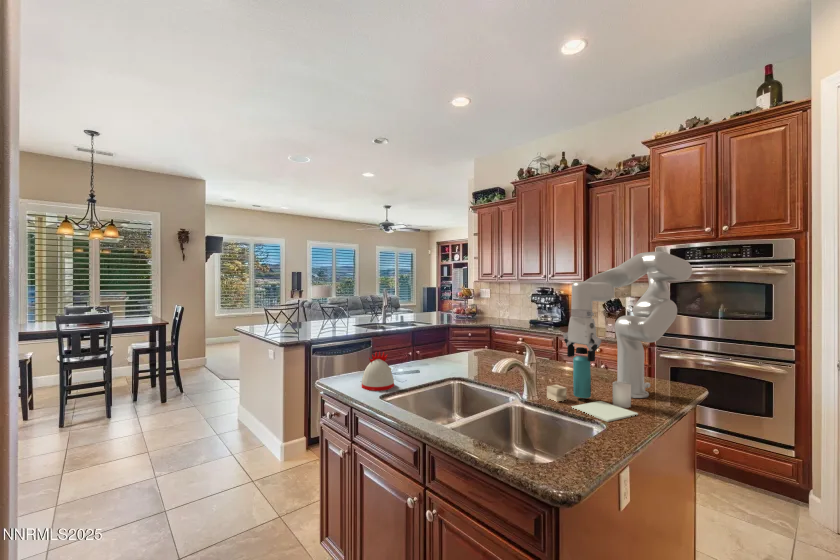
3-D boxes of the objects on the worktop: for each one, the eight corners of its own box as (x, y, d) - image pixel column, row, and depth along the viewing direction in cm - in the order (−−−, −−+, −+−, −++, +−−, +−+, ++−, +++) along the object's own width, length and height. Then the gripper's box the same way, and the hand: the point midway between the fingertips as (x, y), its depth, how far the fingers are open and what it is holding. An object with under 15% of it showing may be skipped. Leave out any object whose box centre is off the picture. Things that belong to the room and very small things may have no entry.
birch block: (556, 397, 151) (556, 384, 151) (566, 400, 146) (566, 387, 146) (546, 399, 149) (546, 386, 149) (556, 402, 144) (556, 389, 144)
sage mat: (600, 402, 144) (600, 400, 144) (638, 415, 131) (638, 413, 131) (571, 407, 138) (571, 406, 138) (607, 421, 124) (607, 420, 124)
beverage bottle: (593, 402, 144) (593, 349, 144) (574, 401, 145) (574, 348, 145) (589, 397, 150) (589, 346, 150) (571, 396, 152) (571, 345, 152)
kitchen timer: (396, 389, 161) (396, 354, 161) (363, 391, 158) (363, 355, 158) (391, 381, 174) (391, 348, 174) (360, 383, 171) (360, 349, 171)
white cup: (619, 401, 145) (619, 380, 145) (634, 406, 140) (634, 384, 140) (609, 403, 143) (609, 382, 143) (623, 408, 137) (623, 386, 137)
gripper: (607, 316, 142) (607, 362, 141) (571, 312, 157) (570, 354, 157) (593, 316, 138) (592, 363, 138) (557, 312, 154) (556, 355, 154)
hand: (580, 358), depth 148 cm, fingers open, 9 cm apart
